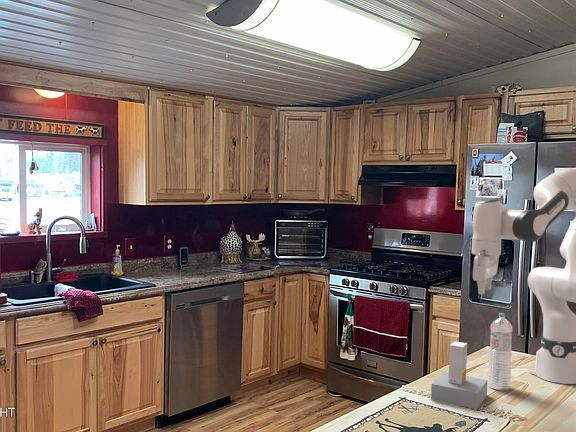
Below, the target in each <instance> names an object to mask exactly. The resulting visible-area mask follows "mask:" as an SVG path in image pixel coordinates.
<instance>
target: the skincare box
mask: <svg viewBox="0 0 576 432" xmlns="http://www.w3.org/2000/svg"><path fill="white" fill-rule="evenodd" d="M448 356H449V358H448V359H449V361H448V362H449V363H448V373H449V379H448V382H449V383H454V384H459V385H462V383H463V382H464V381H465V380H466V376H467V367H468V366H467V365H468V364H467V363H468V362H467V361H468V343H467V342H461V341H453V342H452V343H451V344H450V345H449V355H448Z"/></svg>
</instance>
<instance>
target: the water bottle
mask: <svg viewBox="0 0 576 432" xmlns="http://www.w3.org/2000/svg"><path fill="white" fill-rule="evenodd" d="M505 317H506V314H505V313H504V312H499V313H498V318H496V319H495V320H493V321H492V323H491V324H490V343H489V344H490V346H489V355H488V356H489V359H488V360H489V362H488V366H489V367H488V387H489V388H490V389H493V390H495V391H503V392H504V391H509V390H510V389H511V378H512V377H511V375H512V355H513V354H512V351H513V350H512V343H513V342H512V341H513V339H512V338H513V337H512V336H513V325H512V324H511V322H510V321H509V320H508V319H506V318H505Z"/></svg>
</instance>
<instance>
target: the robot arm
mask: <svg viewBox="0 0 576 432" xmlns="http://www.w3.org/2000/svg"><path fill="white" fill-rule="evenodd" d="M532 193H533V199H534V201H535V203H536V205H537V206H538V208H536V209H524V210H523V209H511V208H508V207H507V206H505V205H503V204H502V202H501V200H500V199H499V198H485V199H480V200H477V201H476V202H475V205H474V208H473V214H472V215H473V216H472V229H473V233H472V237H471V254H472V255H475V257H474V259H473V269H472V280H473V281H474V282H475V281H476V284H477V285H476V286H477V288H478V289H477V293H478V295H484V294H486V291H490V290H491V289H492V281H493V277H494V276H496V275H497V272H498V268H499V259H500V256H501V254H502V253H501V252H502V239H506V240H507V239H509V240H516V241H523V242H527V243H535V242H537V241H539V240H540V239H541V238H542V237H543V236H544V234H545V233H546V231H547V229H548V228H549V227H550V226H551V224H553V223H554V222H555V220H557V219H558V218H559V217H560V216H561V215H562V214H563V213H564V212H565V211H573V212H576V169H575V168H572V167H566V168H563V169H560V170H558V171H555V172H553V173H551V174H549V175H548V176H546V177H545V178H543V179H542V180H540V181H539V182H538V183H537V184H536V185H535V186H534V189H533V192H532ZM559 252H560V255H561V257H562V258H563V259H565V261H566V264H565V266H564V268H560V267H553V266H552V267H551V266H538V267H534V268H533V269H532V270H530V272H529V273H528V277H527V285H528V287H529V290H530V291H531V292H532V293H533V294H534V295H535V297H536V298H537V300H538V302H539V303H538V304H539V305H540V309H541V312H542V318H543V319H542V321H543V325H542V326H543V327H542V328H543V330H542V336H541V339H540V343H541V344H540V345H541V347H540V348H539V349H538V350H536V353H535V366H534V367H532V368H531V369H529V374H531V375H534V376H537V377H538V378H540V379H542V380H544V381H548V382H551V383H557V384H563V385H564V384H565V385H576V313H574V312H573V311H572V310H571V309H570V307H569V305H568V302H571V303H576V216H575V217H574V218H573V220H572V221H571V223H570V224H569V227H568V229H567V230H566V233H565V235H564V238H563V239H562V242H561V244H560V247H559Z"/></svg>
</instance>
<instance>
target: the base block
mask: <svg viewBox="0 0 576 432" xmlns="http://www.w3.org/2000/svg"><path fill="white" fill-rule="evenodd" d="M448 379H449V372H447V371H446V372H445V371H443V372H442V373H441V374H440V375H439V376H438V377H437V378H435V380H434V381H433V382H432V383H431V388H430V393H431V394H430V400H432V401H435V402H436V401H437V402H439V403H445V404H450V405H455V406H459V407H463V408H469V409H472V410H473V409H474V410H478V409H480V406H481V405H482V403H483V402H484V401H485V399H486V398H487V396H488V379H484V378H479V377H473V376H467V375H466V380H465V381H464V382H463V383H462V385H459V384H454V383H449V382H448Z"/></svg>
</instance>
